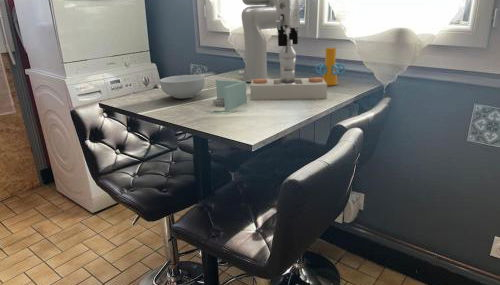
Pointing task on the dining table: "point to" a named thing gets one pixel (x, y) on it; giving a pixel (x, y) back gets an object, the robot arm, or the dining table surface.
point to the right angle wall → (230, 94)
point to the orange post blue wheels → (330, 68)
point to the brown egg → (315, 79)
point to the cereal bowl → (182, 85)
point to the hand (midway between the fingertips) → (288, 45)
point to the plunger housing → (288, 90)
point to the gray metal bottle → (287, 63)
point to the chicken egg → (259, 81)
